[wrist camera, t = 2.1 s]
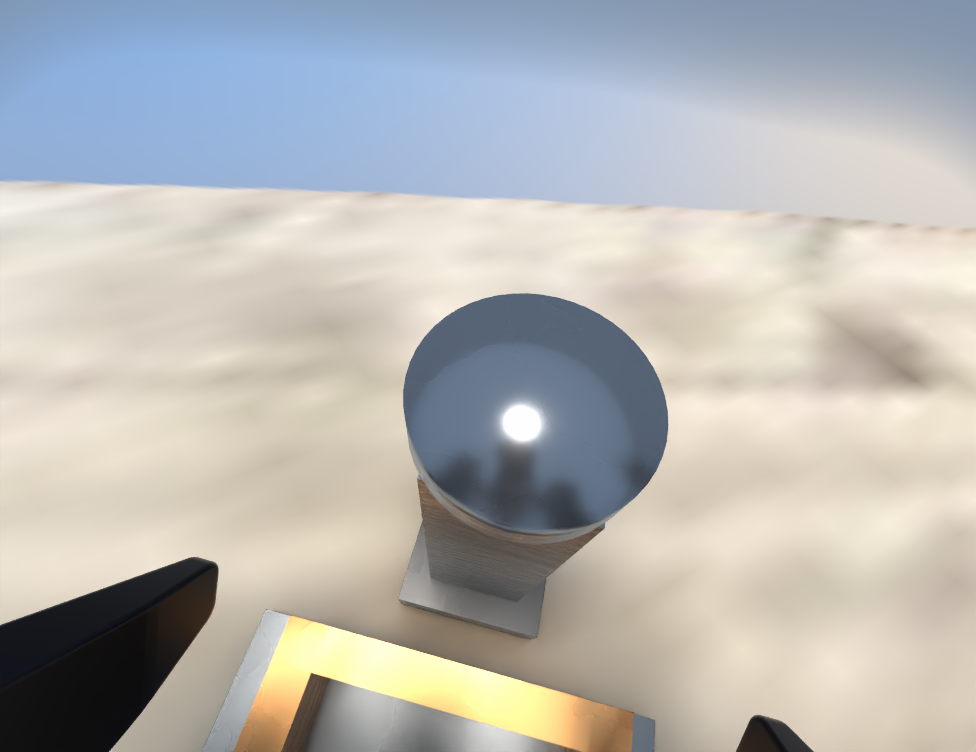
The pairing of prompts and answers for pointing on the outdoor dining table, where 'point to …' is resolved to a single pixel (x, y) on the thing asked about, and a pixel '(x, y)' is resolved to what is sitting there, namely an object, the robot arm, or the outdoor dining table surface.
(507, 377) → the grey piece
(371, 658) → the keeper cradle
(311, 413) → the outdoor dining table surface
